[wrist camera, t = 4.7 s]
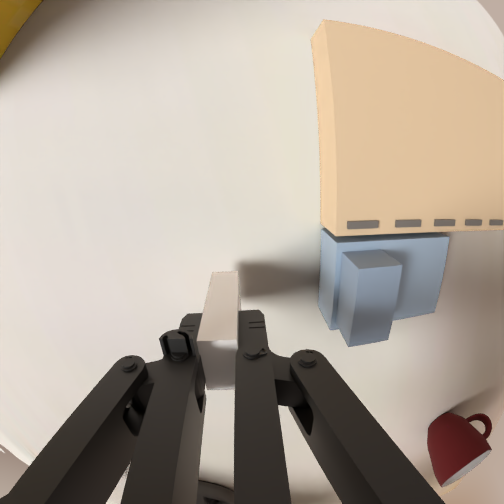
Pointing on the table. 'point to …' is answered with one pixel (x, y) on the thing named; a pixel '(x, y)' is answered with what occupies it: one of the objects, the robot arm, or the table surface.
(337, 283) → the stub
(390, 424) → the table surface
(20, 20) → the book
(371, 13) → the table surface
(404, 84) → the board
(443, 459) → the mug
